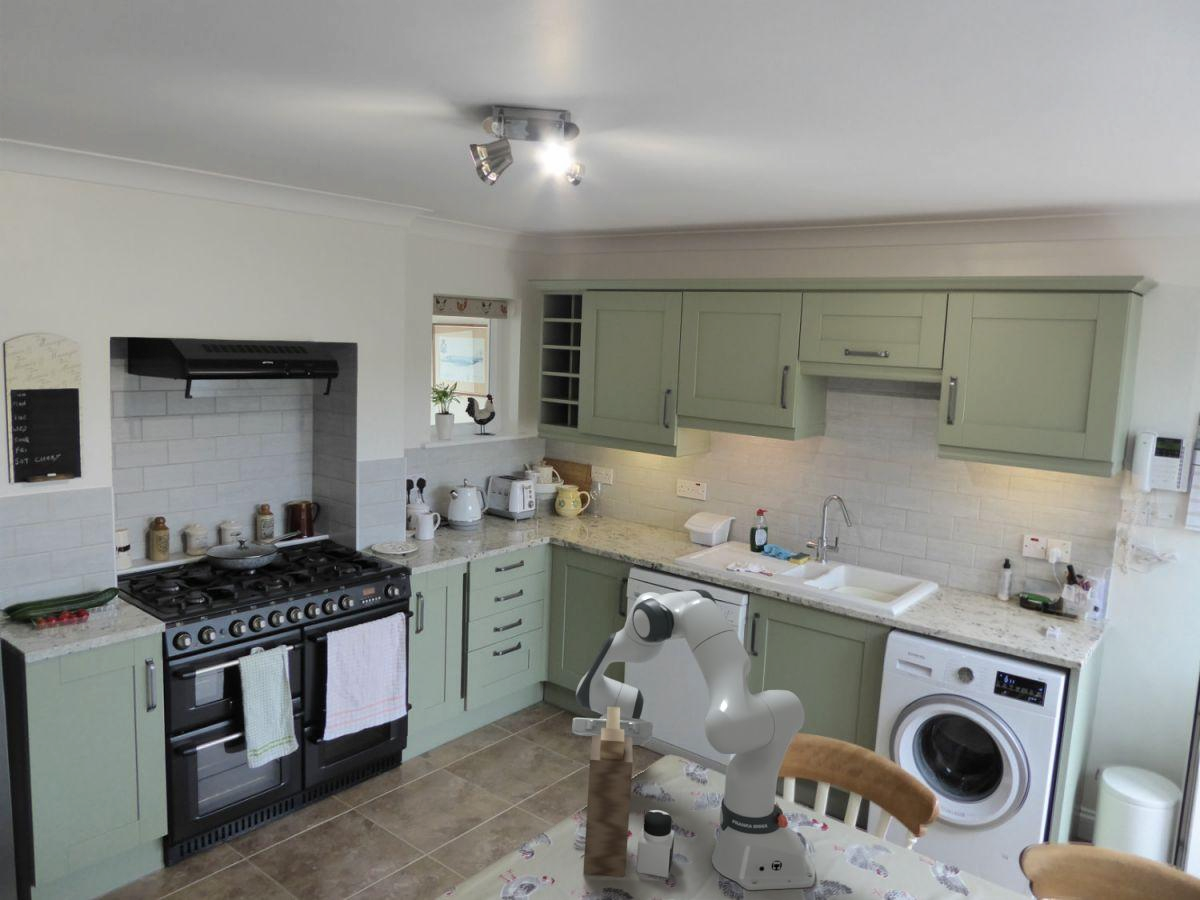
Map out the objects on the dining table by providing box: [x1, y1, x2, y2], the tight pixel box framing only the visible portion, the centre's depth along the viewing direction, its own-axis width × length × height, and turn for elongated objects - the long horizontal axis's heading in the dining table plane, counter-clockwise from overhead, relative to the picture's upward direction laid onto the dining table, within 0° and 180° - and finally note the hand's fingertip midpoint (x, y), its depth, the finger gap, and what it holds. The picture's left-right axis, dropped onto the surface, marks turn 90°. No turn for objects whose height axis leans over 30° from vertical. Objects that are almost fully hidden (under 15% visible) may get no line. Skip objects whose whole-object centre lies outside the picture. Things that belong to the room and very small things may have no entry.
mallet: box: [600, 707, 624, 760], centre depth 194 cm, size 5×20×4 cm, turn 178°
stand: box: [582, 735, 634, 878], centre depth 191 cm, size 9×12×26 cm
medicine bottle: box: [636, 809, 675, 879], centre depth 191 cm, size 7×7×12 cm
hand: (612, 724), depth 212 cm, fingers open, 8 cm apart
